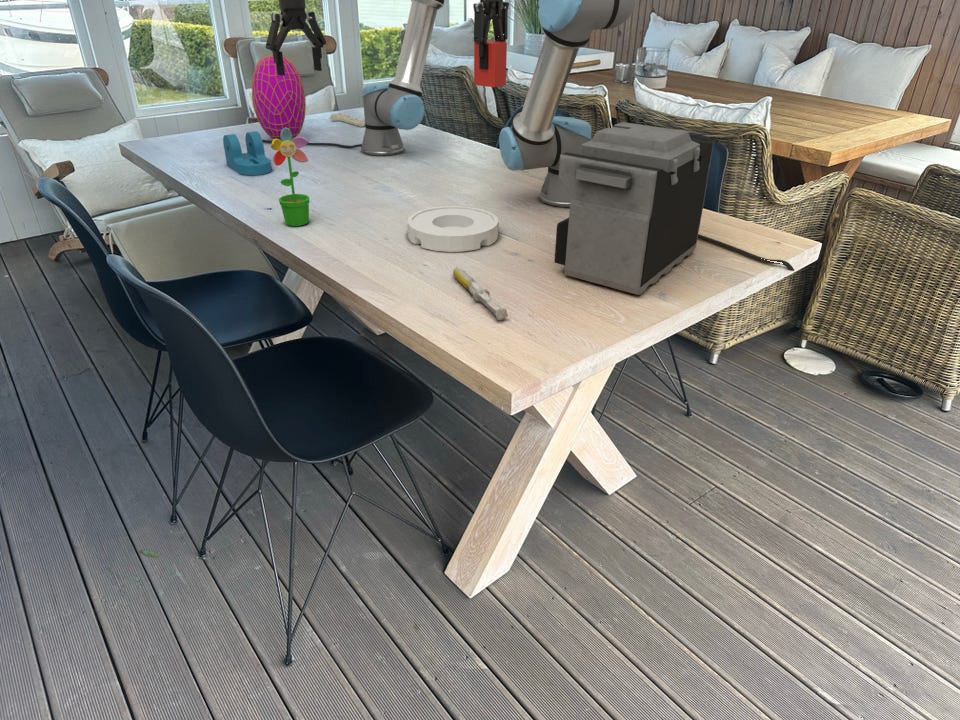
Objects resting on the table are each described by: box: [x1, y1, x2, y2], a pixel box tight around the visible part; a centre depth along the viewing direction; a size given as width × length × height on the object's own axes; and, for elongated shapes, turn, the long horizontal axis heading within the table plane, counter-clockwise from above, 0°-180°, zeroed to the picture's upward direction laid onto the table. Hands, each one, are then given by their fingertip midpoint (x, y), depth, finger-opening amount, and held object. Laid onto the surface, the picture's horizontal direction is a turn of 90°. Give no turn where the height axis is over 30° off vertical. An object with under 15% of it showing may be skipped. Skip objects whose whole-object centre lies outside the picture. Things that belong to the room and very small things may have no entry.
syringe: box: [452, 266, 509, 321], centre depth 145 cm, size 25×4×3 cm, turn 21°
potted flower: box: [270, 128, 310, 227], centre depth 177 cm, size 9×8×25 cm
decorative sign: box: [330, 112, 365, 128], centre depth 295 cm, size 26×1×10 cm
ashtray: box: [407, 205, 499, 253], centre depth 175 cm, size 23×23×4 cm
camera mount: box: [222, 131, 272, 176], centre depth 226 cm, size 18×10×10 cm, turn 35°
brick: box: [473, 39, 508, 89], centre depth 202 cm, size 6×8×12 cm
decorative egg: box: [251, 54, 307, 141], centre depth 257 cm, size 19×19×30 cm
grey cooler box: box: [554, 121, 715, 296], centre depth 154 cm, size 37×22×30 cm, turn 144°
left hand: (300, 72), depth 209 cm, fingers open, 13 cm apart
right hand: (490, 67), depth 202 cm, fingers closed on brick, 6 cm apart
